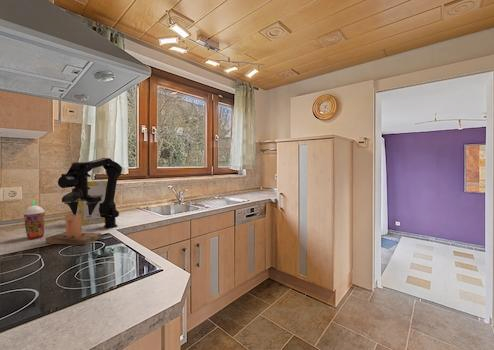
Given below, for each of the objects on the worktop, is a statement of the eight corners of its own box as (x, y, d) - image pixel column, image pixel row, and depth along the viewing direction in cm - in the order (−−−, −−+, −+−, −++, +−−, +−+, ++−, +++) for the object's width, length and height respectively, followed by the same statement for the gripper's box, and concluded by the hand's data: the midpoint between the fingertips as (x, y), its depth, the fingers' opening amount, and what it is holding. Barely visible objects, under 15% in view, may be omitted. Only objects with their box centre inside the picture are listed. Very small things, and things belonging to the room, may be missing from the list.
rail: (64, 236, 121) (64, 231, 121) (101, 238, 118) (101, 233, 118) (45, 243, 112) (45, 238, 111) (85, 245, 109) (85, 240, 108)
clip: (71, 239, 117) (70, 214, 116) (82, 239, 116) (80, 215, 115) (66, 241, 114) (65, 216, 113) (76, 241, 113) (75, 216, 112)
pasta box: (78, 226, 141) (76, 181, 139) (79, 222, 149) (76, 180, 148) (112, 221, 151) (110, 180, 150) (110, 218, 160) (109, 179, 158)
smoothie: (22, 241, 114) (20, 202, 113) (27, 236, 121) (25, 200, 120) (44, 238, 119) (42, 200, 117) (47, 234, 126) (45, 198, 125)
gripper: (50, 187, 112) (52, 218, 113) (83, 187, 109) (85, 219, 110) (70, 185, 123) (72, 213, 124) (101, 185, 120) (102, 214, 121)
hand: (82, 215), depth 119 cm, fingers open, 9 cm apart
